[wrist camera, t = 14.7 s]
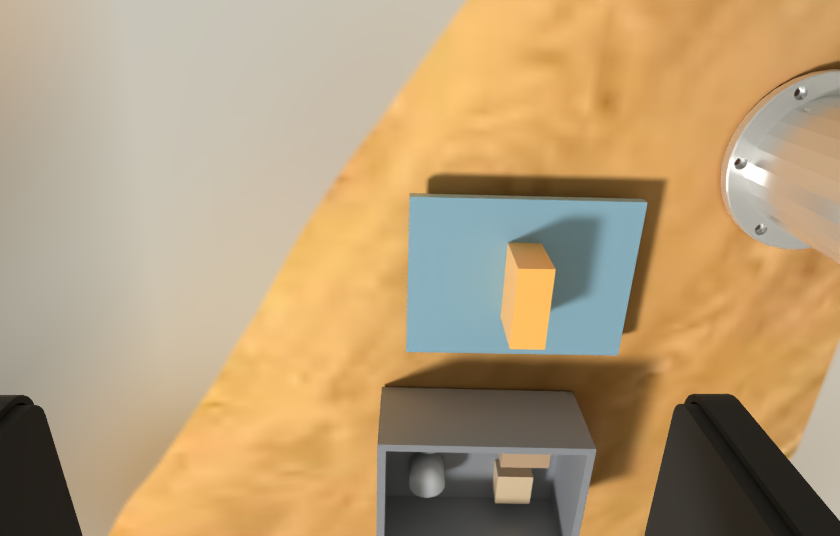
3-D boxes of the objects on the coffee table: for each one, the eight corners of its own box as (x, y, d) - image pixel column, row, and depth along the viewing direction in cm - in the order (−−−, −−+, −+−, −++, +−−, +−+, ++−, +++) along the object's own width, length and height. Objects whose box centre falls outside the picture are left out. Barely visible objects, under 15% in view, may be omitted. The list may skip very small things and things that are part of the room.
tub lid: (637, 193, 42) (674, 224, 36) (609, 341, 47) (638, 390, 41) (409, 188, 42) (409, 218, 36) (406, 338, 47) (405, 386, 41)
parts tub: (572, 391, 49) (596, 449, 43) (554, 498, 54) (572, 564, 48) (382, 386, 49) (377, 444, 42) (380, 495, 54) (376, 561, 47)
